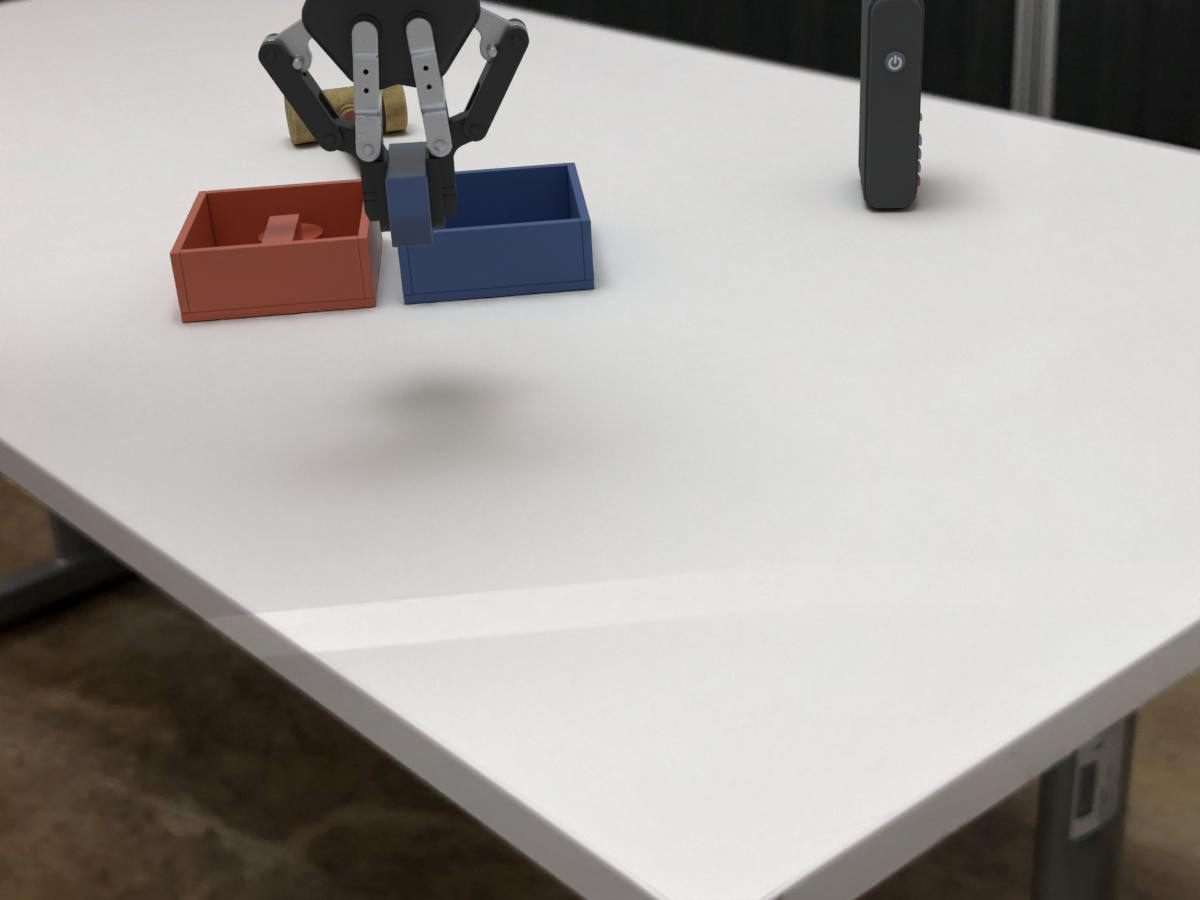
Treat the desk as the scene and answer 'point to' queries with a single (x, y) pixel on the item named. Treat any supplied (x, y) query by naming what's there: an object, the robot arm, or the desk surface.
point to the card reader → (890, 101)
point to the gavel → (344, 105)
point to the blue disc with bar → (408, 195)
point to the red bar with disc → (289, 230)
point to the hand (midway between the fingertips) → (412, 224)
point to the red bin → (276, 252)
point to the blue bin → (505, 238)
